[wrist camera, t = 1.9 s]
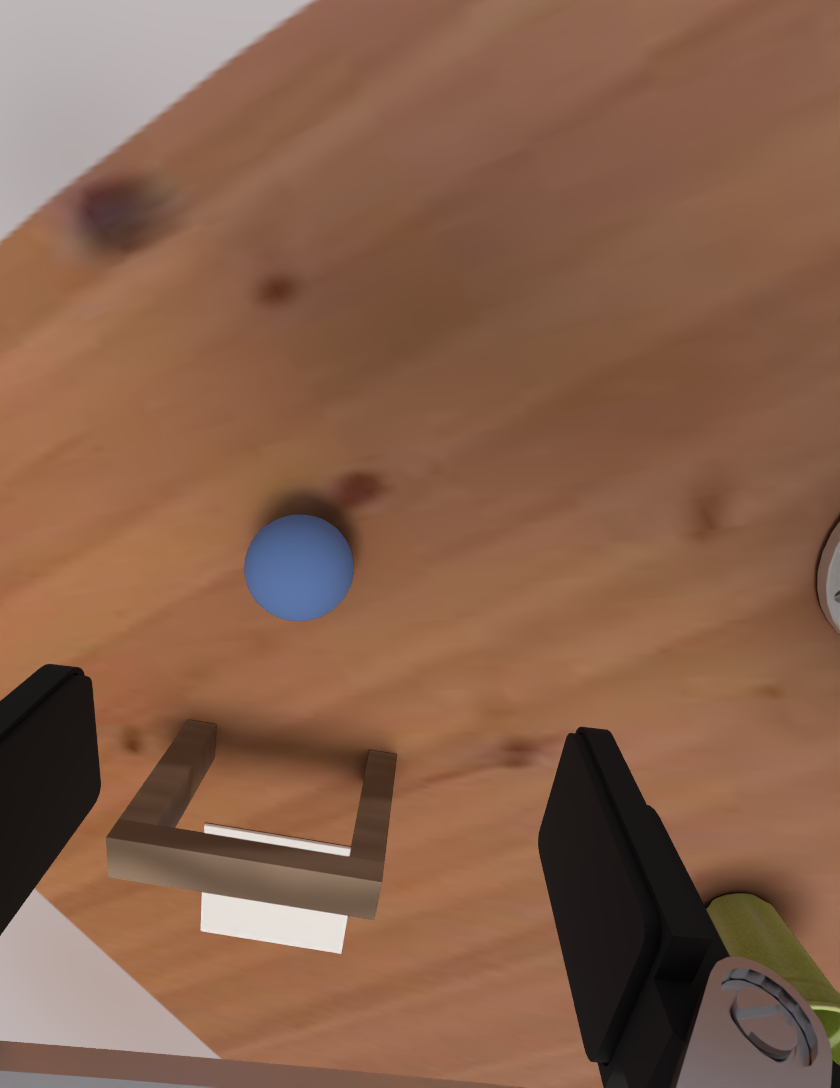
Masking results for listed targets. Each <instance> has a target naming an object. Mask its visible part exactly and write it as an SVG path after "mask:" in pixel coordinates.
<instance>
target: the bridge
mask: <svg viewBox="0 0 840 1088" xmlns="http://www.w3.org/2000/svg"><path fill="white" fill-rule="evenodd" d="M215 743H216V724H211V723H205V722H199V721H193V720H188V721H187V722H186V724H185V725H184V727H183V728H182V729H181V731H180V732H179V734H178V735H177V737H176V738H175V739H174V741H173V742H172V744H171V745H170V747H169V748H168V749H167V751H166V752H165V754H164V755H163V757H162V758H161V759H160V761H159V762H158V764H157V765H156V767H155V768H154V770H153V771H152V772H151V774H150V775H149V777H148V778H147V780H146V781H145V782H144V784H143V785H142V787H141V788H140V790H139V791H138V792H137V794H136V795H135V797H134V798H133V800H132V801H131V802H130V804H129V805H128V807H127V808H126V810H125V811H124V813H123V814H122V815H121V817H120V818H119V820H118V821H117V823H116V824H115V825H114V827H113V828H112V830H111V831H110V833H109V834H108V835H107V837H106V845H107V865H108V877H111V878H117V879H123V880H129V881H135V882H141V883H148V884H154V885H160V886H166V887H172V888H179V889H185V890H191V891H197V892H203V893H209V894H216V895H222V896H228V897H234V898H240V899H246V900H253V901H259V902H265V903H271V904H277V905H283V906H290V907H296V908H302V909H308V910H314V911H321V912H327V913H333V914H339V915H345V916H351V917H358V918H364V919H370V920H375V915H376V910H377V905H378V900H379V895H380V890H381V885H382V878H383V870H384V861H385V853H386V844H387V836H388V828H389V819H390V811H391V802H392V794H393V785H394V777H395V769H396V760H397V754H391V753H385V752H379V751H373V750H369V755H368V760H367V766H366V771H365V776H364V781H363V787H362V792H361V797H360V802H359V808H358V813H357V818H356V824H355V829H354V834H353V839H352V845H351V850H350V855H349V856H343V855H337V854H330V853H324V852H318V851H312V850H306V849H300V848H294V847H288V846H282V845H275V844H269V843H263V842H257V841H251V840H245V839H239V838H233V837H227V836H220V835H214V834H208V833H202V832H196V831H190V830H184V829H178V828H175V827H176V825H177V824H178V822H179V820H180V818H181V817H182V815H183V813H184V811H185V809H186V808H187V806H188V804H189V802H190V801H191V799H192V797H193V795H194V794H195V792H196V790H197V788H198V787H199V785H200V783H201V781H202V779H203V778H204V776H205V774H206V772H207V771H208V769H209V767H210V765H211V764H212V762H213V760H214V758H215Z"/></svg>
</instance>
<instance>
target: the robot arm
mask: <svg viewBox="0 0 840 1088" xmlns="http://www.w3.org/2000/svg"><path fill="white" fill-rule="evenodd" d="M817 591H818V596H819V601H820V606H821V608H822V610H823V612H824V614H825V616H826V618H827V620H828V622H829V623H830V624H831V625H832V627H833V628H834V629H835V630H836V631H837V632H838V634H840V522H839V523H838V524H837V526H836V527H835V529H834V530H833V532H832V533H831V535H830V537H829V540H828V542H827V544H826V546H825V548H824V550H823V553H822V557H821V561H820V565H819V569H818V581H817ZM100 788H101V779H100V768H99V756H98V745H97V734H96V722H95V711H94V700H93V688H92V681H91V679H90V677H88V676H85V675H84V672H83V670H82V669H81V668H79V667H71V666H63V665H54V664H47V665H44V666H43V667H41V668H40V669H38V670H37V671H36V672H35V673H34V674H32V675H31V676H30V677H29V678H28V679H26V680H25V681H24V682H23V683H22V684H20V685H19V686H18V687H17V688H16V689H14V690H13V691H12V692H11V693H10V694H8V695H7V696H6V697H5V698H4V699H2V700H1V701H0V935H1V934H2V932H3V931H4V930H5V928H6V927H7V926H8V924H9V923H10V921H11V920H12V919H13V917H14V916H15V914H16V913H17V912H18V910H19V909H20V907H21V906H22V905H23V903H24V902H25V900H26V899H27V898H28V896H29V895H30V893H31V892H32V890H33V889H34V888H35V887H36V885H37V884H38V882H39V881H40V880H41V878H42V877H43V875H44V874H45V873H46V871H47V870H48V869H49V867H50V866H51V864H52V863H53V862H54V860H55V859H56V857H57V856H58V855H59V853H60V852H61V850H62V849H63V848H64V846H65V845H66V844H67V842H68V841H69V839H70V838H71V837H72V835H73V834H74V832H75V831H76V830H77V828H78V827H79V825H80V824H81V823H82V821H83V820H84V818H85V817H86V816H87V814H88V813H89V812H90V810H91V809H92V807H93V806H94V804H95V803H96V801H97V798H98V796H99V793H100ZM538 847H539V854H540V859H541V863H542V867H543V872H544V876H545V880H546V885H547V889H548V893H549V898H550V902H551V906H552V911H553V915H554V919H555V923H556V928H557V932H558V936H559V941H560V945H561V949H562V954H563V958H564V962H565V967H566V971H567V975H568V980H569V984H570V988H571V993H572V997H573V1001H574V1006H575V1010H576V1014H577V1018H578V1023H579V1027H580V1031H581V1036H582V1040H583V1044H584V1048H585V1052H586V1054H587V1057H588V1059H589V1060H590V1061H591V1062H598V1066H599V1071H600V1075H601V1079H602V1083H603V1087H604V1088H840V1065H838V1064H837V1063H836V1062H835V1061H833V1060H832V1053H831V1045H830V1042H829V1039H828V1037H827V1035H826V1032H825V1030H824V1027H823V1025H822V1023H821V1021H820V1020H819V1018H818V1017H817V1015H816V1014H815V1012H814V1011H813V1009H812V1008H811V1006H810V1005H809V1003H808V1002H807V1001H806V1000H805V999H804V998H803V997H802V996H801V995H800V994H799V992H798V991H797V990H796V989H795V988H794V987H793V986H792V985H791V984H789V983H788V982H787V981H786V980H784V979H783V978H782V977H781V976H779V975H778V974H777V973H776V972H774V971H772V970H771V969H769V968H767V967H765V966H764V965H762V964H760V963H758V962H755V961H752V960H749V959H746V958H743V957H730V955H729V953H728V951H727V949H726V947H725V945H724V943H723V941H722V940H721V938H720V936H719V934H718V932H717V930H716V928H715V926H714V924H713V922H712V920H711V918H710V916H709V914H708V912H707V910H706V908H705V906H704V904H703V902H702V900H701V898H700V896H699V894H698V892H697V890H696V888H695V886H694V884H693V882H692V880H691V878H690V876H689V874H688V872H687V870H686V868H685V866H684V864H683V862H682V861H681V859H680V857H679V855H678V853H677V851H676V849H675V847H674V845H673V843H672V841H671V839H670V837H669V835H668V833H667V831H666V829H665V827H664V825H663V823H662V821H661V819H660V817H659V816H658V814H657V812H656V811H655V809H653V808H652V807H651V806H649V805H647V804H646V802H645V800H644V798H643V796H642V794H641V792H640V790H639V788H638V786H637V784H636V782H635V780H634V778H633V776H632V774H631V772H630V770H629V768H628V766H627V764H626V762H625V760H624V758H623V756H622V754H621V752H620V750H619V747H618V745H617V743H616V741H615V739H614V737H613V735H612V734H611V732H610V731H608V730H604V729H596V728H587V727H579V728H578V729H577V730H576V733H575V734H574V733H569V734H568V735H567V738H566V741H565V744H564V748H563V751H562V755H561V758H560V762H559V765H558V768H557V772H556V775H555V779H554V782H553V786H552V789H551V793H550V796H549V800H548V803H547V807H546V810H545V814H544V817H543V821H542V824H541V827H540V831H539V837H538ZM0 1088H523V1087H514V1086H505V1085H496V1084H486V1083H475V1082H464V1081H454V1080H443V1079H433V1078H422V1077H411V1076H401V1075H390V1074H379V1073H369V1072H358V1071H347V1070H337V1069H326V1068H315V1067H303V1066H292V1065H281V1064H269V1063H258V1062H247V1061H236V1060H224V1059H212V1058H201V1057H190V1056H178V1055H166V1054H155V1053H143V1052H132V1051H120V1050H108V1049H96V1048H83V1047H71V1046H59V1045H46V1044H34V1043H21V1042H10V1041H0Z"/></svg>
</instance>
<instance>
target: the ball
mask: <svg viewBox="0 0 840 1088" xmlns="http://www.w3.org/2000/svg"><path fill="white" fill-rule="evenodd" d="M244 573H245V579H246V583H247V586H248V589H249V591H250V593H251V595H252V596H253V598H254V599H255V600H256V602H257V603H258V604H259V605H260V606H261V607H262V608H263V609H265V610H266V611H267V612H269V613H270V614H272V615H274V616H276V617H279V618H281V619H285V620H289V621H307V620H312V619H316V618H319V617H321V616H323V615H325V614H327V613H329V612H330V611H332V610H333V609H334V608H335V607H336V606H337V605H338V604H339V603H340V602H341V601H342V600H343V599H344V597H345V596H346V594H347V592H348V590H349V588H350V586H351V583H352V579H353V574H354V562H353V555H352V552H351V549H350V546H349V544H348V542H347V541H346V539H345V538H344V536H343V535H342V534H341V532H340V531H339V530H338V529H337V528H336V527H334V526H333V525H332V524H330V523H329V522H327V521H325V520H323V519H321V518H318V517H315V516H311V515H303V514H294V515H288V516H285V517H281V518H278V519H276V520H274V521H272V522H271V523H269V524H267V525H266V526H265V527H264V528H262V529H261V530H260V531H259V532H258V534H257V535H256V536H255V537H254V539H253V540H252V542H251V544H250V546H249V548H248V551H247V554H246V557H245V565H244Z"/></svg>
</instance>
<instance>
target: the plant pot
mask: <svg viewBox="0 0 840 1088" xmlns="http://www.w3.org/2000/svg"><path fill="white" fill-rule="evenodd" d="M706 910H707V912H708V914H709V916H710V918H711V920H712V922H713V924H714V926H715V928H716V930H717V932H718V934H719V936H720V938H721V940H722V941H723V943H724V945H725V947H726V949H727V951H728V953H729V955H730V957H743V958H746V959H749V960H752V961H755V962H758V963H760V964H762V965H764V966H765V967H767V968H769V969H771V970H772V971H774V972H776V973H777V974H778V975H779V976H781V977H782V978H783V979H784V980H786V981H787V982H788V983H789V984H791V985H792V986H793V987H794V988H795V989H796V990H797V991H798V992H799V994H800V995H801V996H802V997H803V998H804V999H805V1000H806V1001H807V1002H808V1003H809V1005H810V1006H811V1008H812V1009H813V1011H814V1012H815V1014H816V1015H817V1017H818V1018H819V1020H820V1021H821V1023H822V1025H823V1027H824V1030H825V1032H826V1035H827V1037H828V1039H829V1042H830V1045H831V1053H832V1060H833V1061H835V1062H836V1063H837V1064H838V1065H840V993H838V992H837V991H836V990H835V989H834V988H833V986H832V985H831V984H830V982H829V981H828V980H827V978H826V977H825V976H824V974H823V973H822V972H821V970H820V969H819V968H818V966H817V965H816V964H815V962H814V961H813V960H812V958H811V957H810V956H809V954H808V953H807V952H806V950H805V949H804V948H803V946H802V945H801V944H800V942H799V941H798V940H797V938H796V937H795V936H794V934H793V933H792V931H791V930H790V929H789V927H788V926H787V925H786V923H785V922H784V921H783V919H782V918H781V917H780V915H779V914H778V913H777V911H776V910H775V909H774V907H773V906H772V905H771V904H770V903H767V902H765V901H763V900H761V899H760V898H758V897H757V896H755V895H752V894H746V893H735V894H728V895H724V896H721V897H718V898H716V899H714V900H713V901H712V902H711V904H710V905H709V907H708V908H706Z"/></svg>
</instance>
